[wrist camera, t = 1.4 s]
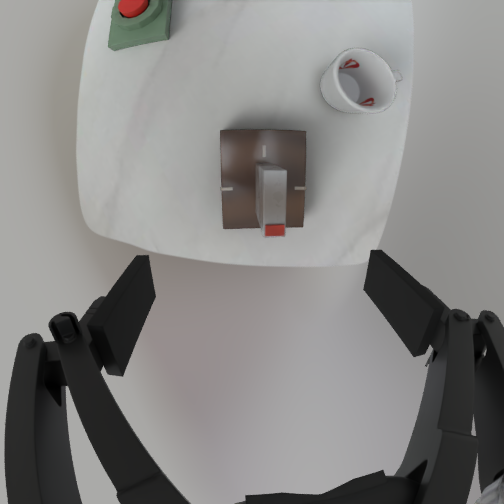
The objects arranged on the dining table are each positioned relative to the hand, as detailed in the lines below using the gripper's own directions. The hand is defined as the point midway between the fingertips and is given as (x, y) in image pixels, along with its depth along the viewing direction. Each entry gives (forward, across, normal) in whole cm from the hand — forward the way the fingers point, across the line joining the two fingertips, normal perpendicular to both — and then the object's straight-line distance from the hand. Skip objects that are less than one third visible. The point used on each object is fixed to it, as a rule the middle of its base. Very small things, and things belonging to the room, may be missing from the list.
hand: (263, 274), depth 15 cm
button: (+18, -14, +28) cm, 36 cm away
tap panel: (+21, +2, +3) cm, 21 cm away
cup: (+21, +14, +16) cm, 30 cm away
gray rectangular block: (+18, +2, +2) cm, 18 cm away
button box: (+21, -14, +28) cm, 38 cm away
